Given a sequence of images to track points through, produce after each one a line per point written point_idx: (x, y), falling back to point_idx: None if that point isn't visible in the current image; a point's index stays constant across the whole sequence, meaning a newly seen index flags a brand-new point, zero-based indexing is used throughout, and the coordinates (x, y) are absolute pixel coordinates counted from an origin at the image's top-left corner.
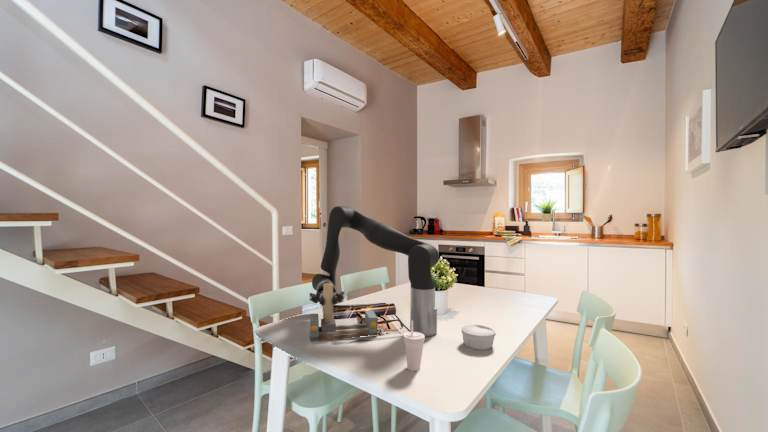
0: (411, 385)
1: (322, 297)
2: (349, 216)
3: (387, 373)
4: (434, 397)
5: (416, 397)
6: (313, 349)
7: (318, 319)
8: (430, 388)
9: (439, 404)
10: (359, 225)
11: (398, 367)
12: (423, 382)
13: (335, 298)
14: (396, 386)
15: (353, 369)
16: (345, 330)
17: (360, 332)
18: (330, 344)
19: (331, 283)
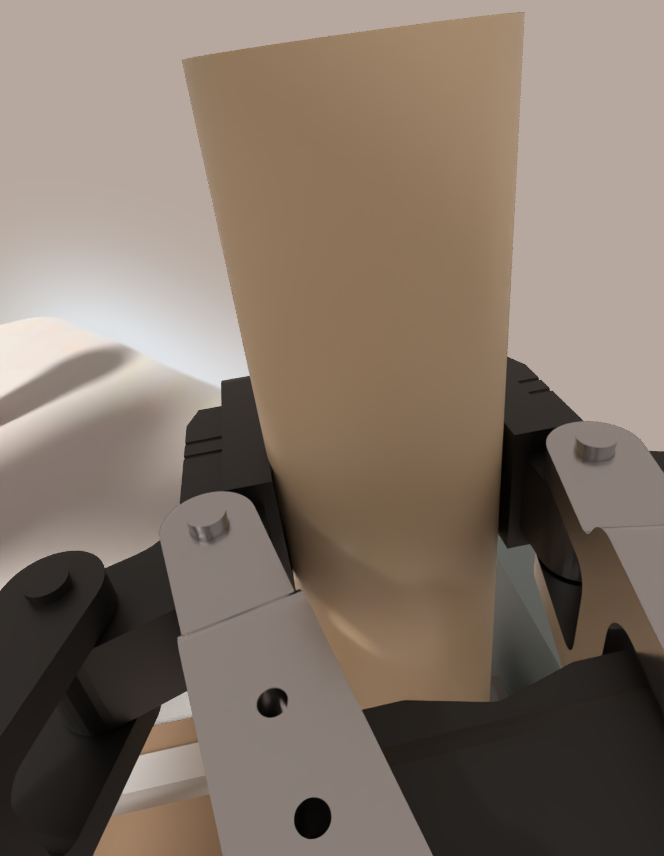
0: (55, 361)
1: (520, 411)
2: None
3: (95, 395)
4: (30, 338)
5: (76, 334)
6: None
7: (513, 582)
8: (11, 358)
9: (38, 326)
10: None
11: (28, 426)
12: (8, 373)
13: (216, 458)
14: (103, 355)
15: (219, 402)
16: (184, 746)
17: None
18: None
19: (236, 50)
